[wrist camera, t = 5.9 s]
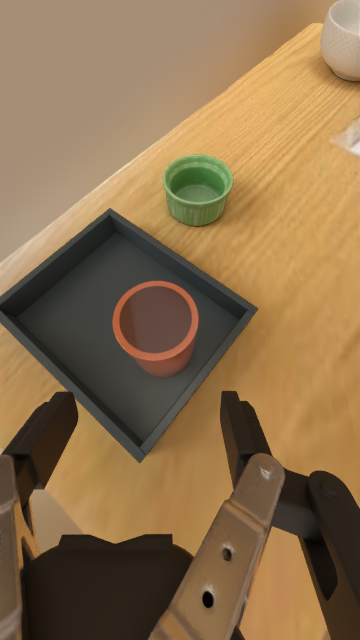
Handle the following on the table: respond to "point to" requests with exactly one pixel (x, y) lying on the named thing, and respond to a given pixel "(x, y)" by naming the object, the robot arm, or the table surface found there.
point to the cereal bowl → (342, 39)
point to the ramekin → (197, 188)
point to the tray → (97, 326)
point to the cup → (157, 327)
